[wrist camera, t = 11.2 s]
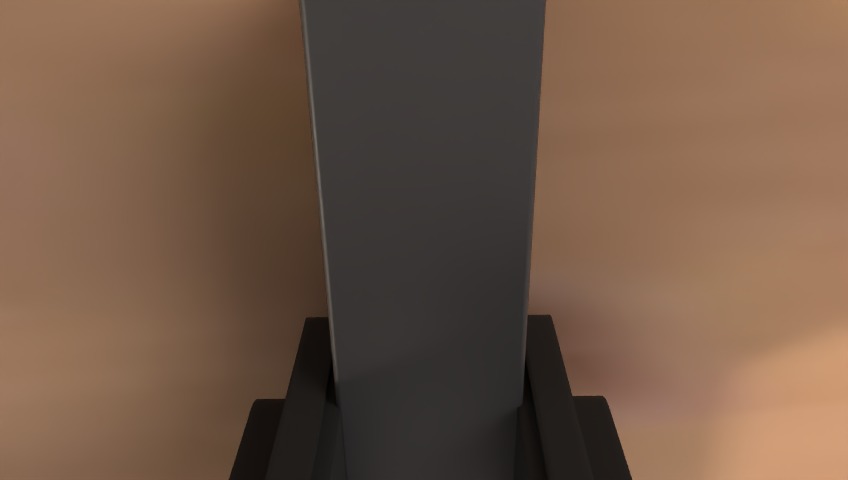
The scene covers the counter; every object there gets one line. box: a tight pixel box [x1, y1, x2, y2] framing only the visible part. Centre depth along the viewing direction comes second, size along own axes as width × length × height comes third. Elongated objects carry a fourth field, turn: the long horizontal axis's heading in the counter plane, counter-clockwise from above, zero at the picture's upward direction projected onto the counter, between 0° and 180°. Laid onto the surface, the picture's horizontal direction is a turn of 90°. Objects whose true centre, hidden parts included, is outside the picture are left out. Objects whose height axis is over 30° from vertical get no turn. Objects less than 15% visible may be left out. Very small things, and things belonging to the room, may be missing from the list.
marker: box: [299, 0, 546, 480], centre depth 11 cm, size 14×2×2 cm, turn 1°
